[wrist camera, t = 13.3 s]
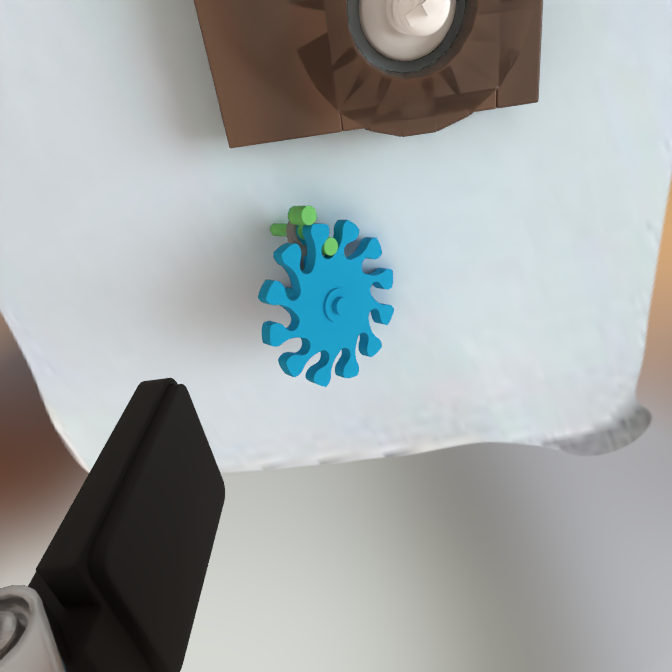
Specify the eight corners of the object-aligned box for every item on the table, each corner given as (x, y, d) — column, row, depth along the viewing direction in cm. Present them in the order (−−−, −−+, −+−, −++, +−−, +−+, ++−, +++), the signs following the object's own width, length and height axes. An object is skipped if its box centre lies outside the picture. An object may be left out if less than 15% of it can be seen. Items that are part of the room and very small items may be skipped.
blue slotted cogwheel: (411, 347, 36) (297, 419, 30) (353, 332, 40) (243, 393, 35) (384, 181, 32) (245, 230, 26) (321, 185, 36) (191, 227, 31)
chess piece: (340, -9, 27) (333, -17, 18) (426, -77, 25) (462, -121, 17) (390, 80, 29) (404, 110, 21) (472, 22, 28) (524, 28, 19)
